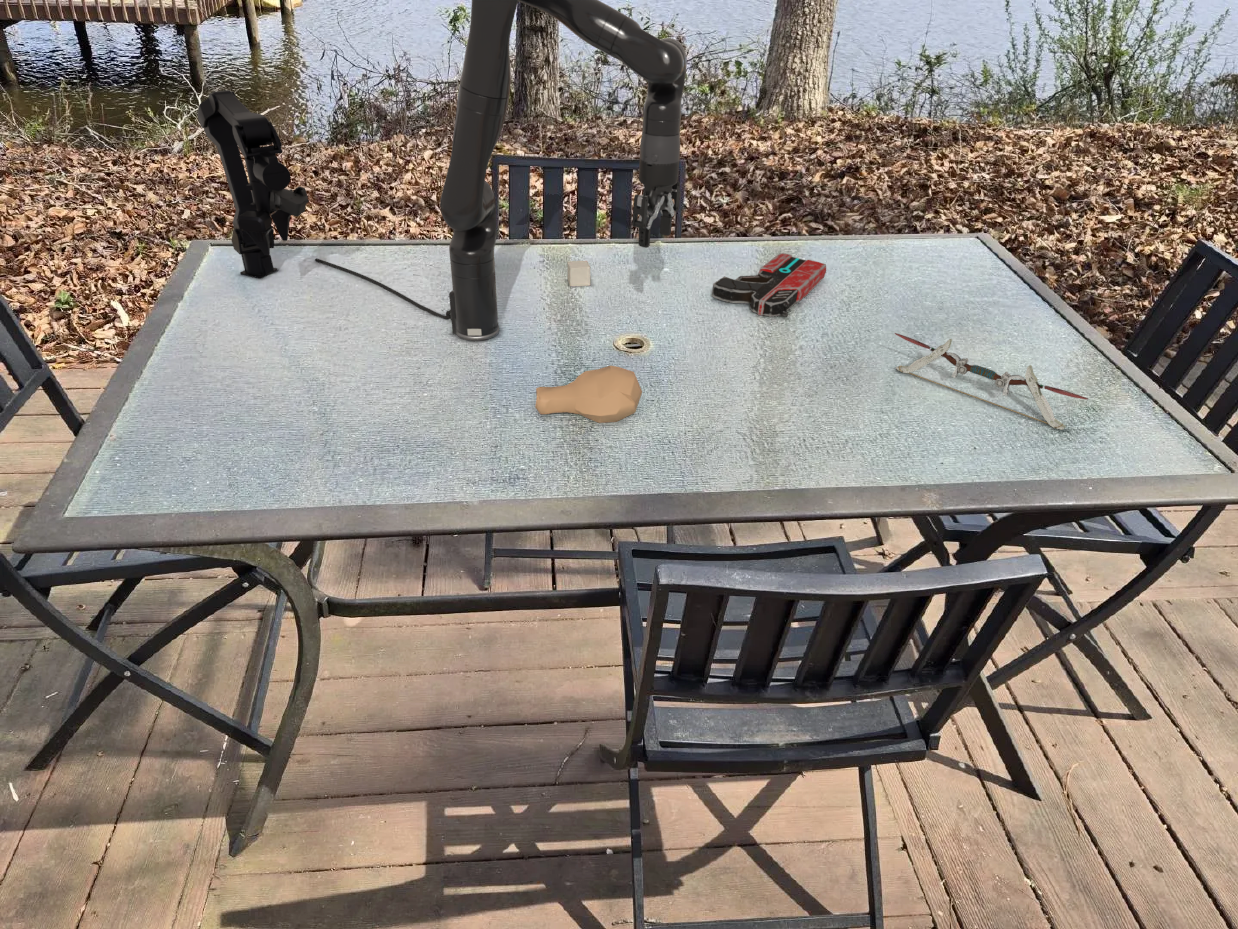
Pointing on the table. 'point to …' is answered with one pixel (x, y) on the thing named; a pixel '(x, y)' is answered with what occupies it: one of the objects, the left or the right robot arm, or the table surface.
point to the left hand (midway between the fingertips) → (276, 247)
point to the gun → (772, 285)
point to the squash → (594, 395)
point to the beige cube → (578, 273)
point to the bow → (1000, 381)
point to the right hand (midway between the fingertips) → (654, 240)
